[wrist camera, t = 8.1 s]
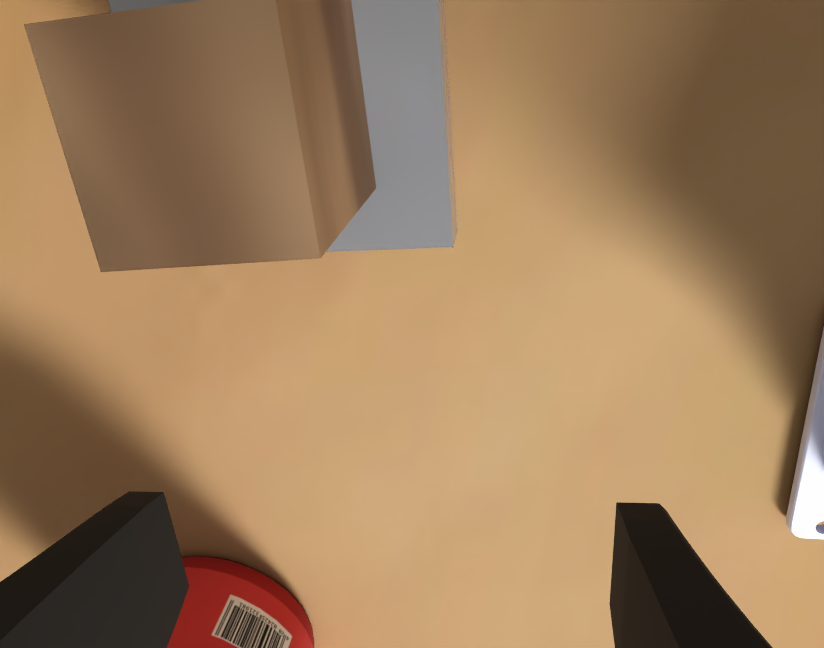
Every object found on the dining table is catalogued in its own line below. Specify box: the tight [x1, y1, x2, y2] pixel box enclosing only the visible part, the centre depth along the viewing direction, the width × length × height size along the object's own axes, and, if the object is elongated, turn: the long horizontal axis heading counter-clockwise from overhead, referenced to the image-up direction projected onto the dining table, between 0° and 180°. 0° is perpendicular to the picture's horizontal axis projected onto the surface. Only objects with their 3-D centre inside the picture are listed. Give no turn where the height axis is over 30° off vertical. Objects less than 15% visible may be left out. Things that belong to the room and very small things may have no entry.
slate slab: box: [108, 0, 457, 252], centre depth 18 cm, size 8×8×2 cm
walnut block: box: [24, 0, 376, 272], centre depth 15 cm, size 4×4×6 cm
